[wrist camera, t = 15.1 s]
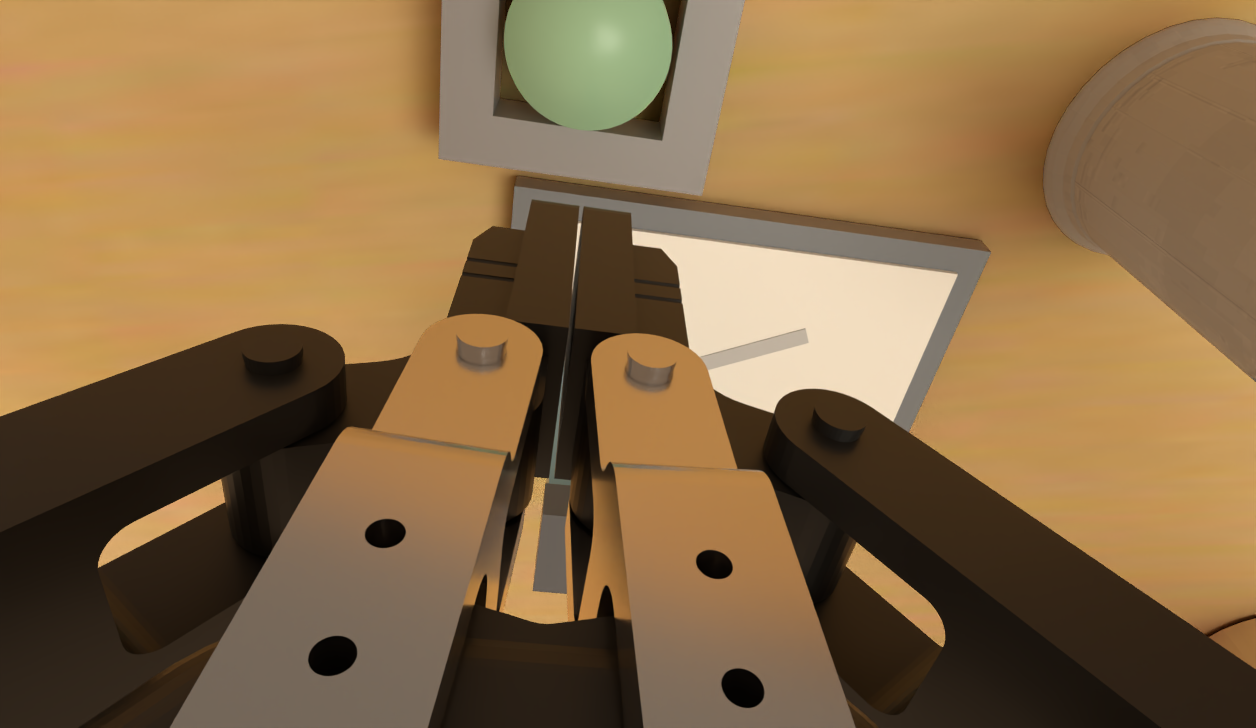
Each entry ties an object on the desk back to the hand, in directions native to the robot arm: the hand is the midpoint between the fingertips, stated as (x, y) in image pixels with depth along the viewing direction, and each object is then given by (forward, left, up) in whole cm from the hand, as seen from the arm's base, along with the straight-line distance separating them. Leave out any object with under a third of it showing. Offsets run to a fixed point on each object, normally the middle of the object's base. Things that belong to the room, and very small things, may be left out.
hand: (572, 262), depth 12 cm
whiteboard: (-7, +12, -17) cm, 22 cm away
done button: (0, 0, -16) cm, 16 cm away
